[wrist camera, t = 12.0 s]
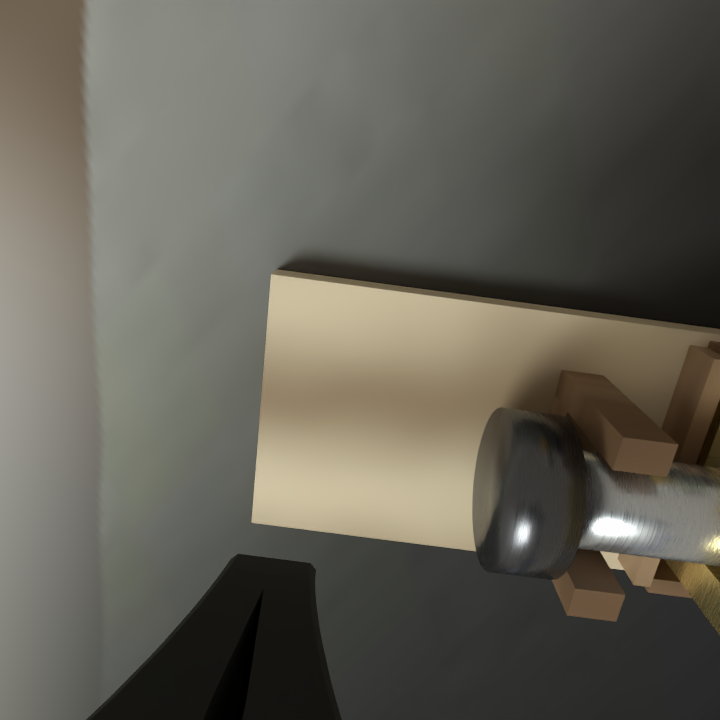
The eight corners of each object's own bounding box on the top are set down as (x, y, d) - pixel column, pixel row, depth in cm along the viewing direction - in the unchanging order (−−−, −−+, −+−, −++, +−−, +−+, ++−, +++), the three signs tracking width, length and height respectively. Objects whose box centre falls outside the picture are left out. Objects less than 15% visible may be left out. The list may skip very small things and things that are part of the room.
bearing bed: (788, 576, 19) (925, 712, 14) (256, 508, 19) (215, 624, 14) (892, 352, 16) (1103, 427, 12) (276, 269, 16) (234, 312, 11)
